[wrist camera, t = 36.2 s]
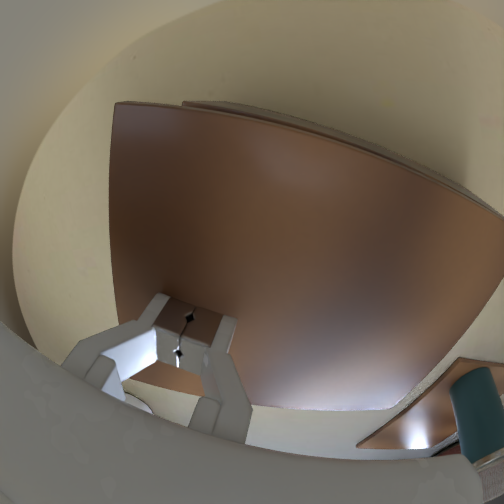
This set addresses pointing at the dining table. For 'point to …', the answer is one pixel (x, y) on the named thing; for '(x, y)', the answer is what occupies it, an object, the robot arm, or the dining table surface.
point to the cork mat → (429, 412)
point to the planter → (484, 475)
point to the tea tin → (479, 418)
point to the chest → (335, 135)
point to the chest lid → (295, 254)
